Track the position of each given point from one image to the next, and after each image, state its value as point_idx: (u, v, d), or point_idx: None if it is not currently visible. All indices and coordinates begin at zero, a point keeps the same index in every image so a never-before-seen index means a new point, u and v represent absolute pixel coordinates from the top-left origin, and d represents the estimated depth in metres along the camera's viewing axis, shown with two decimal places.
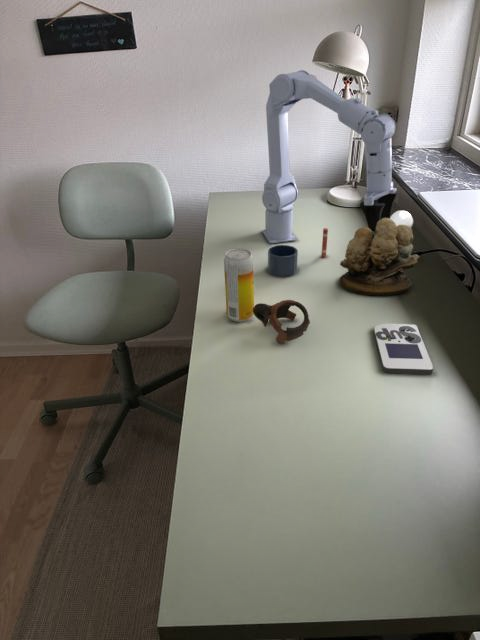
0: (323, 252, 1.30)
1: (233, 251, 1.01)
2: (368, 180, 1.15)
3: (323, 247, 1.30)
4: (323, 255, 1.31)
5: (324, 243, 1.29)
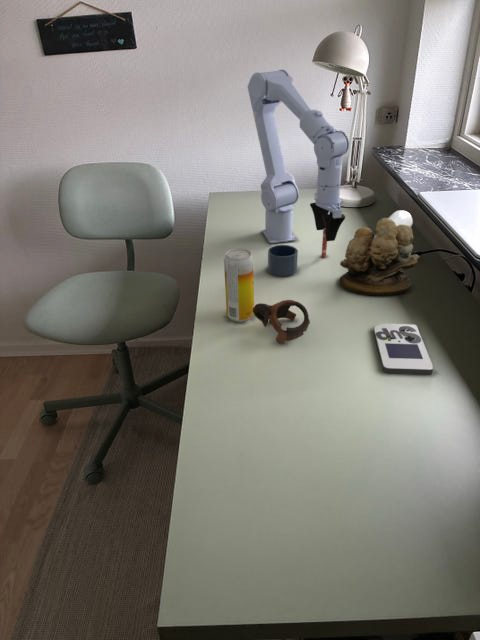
0: (323, 252, 1.30)
1: (233, 251, 1.01)
2: (325, 194, 1.20)
3: (323, 247, 1.30)
4: (323, 255, 1.31)
5: (324, 243, 1.29)
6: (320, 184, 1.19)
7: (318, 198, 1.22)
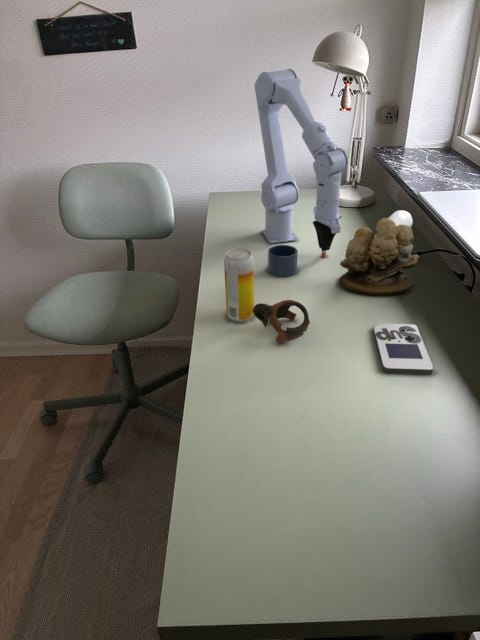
0: (323, 252, 1.30)
1: (233, 251, 1.01)
2: (324, 209, 1.22)
3: None
4: (323, 255, 1.31)
5: None
6: (319, 200, 1.22)
7: (317, 213, 1.24)
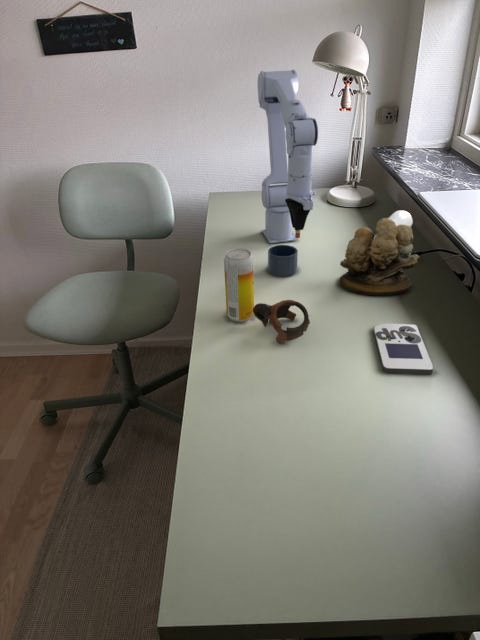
0: (297, 232, 1.22)
1: (233, 251, 1.01)
2: (295, 185, 1.13)
3: None
4: (297, 235, 1.22)
5: None
6: (288, 173, 1.14)
7: (289, 189, 1.15)
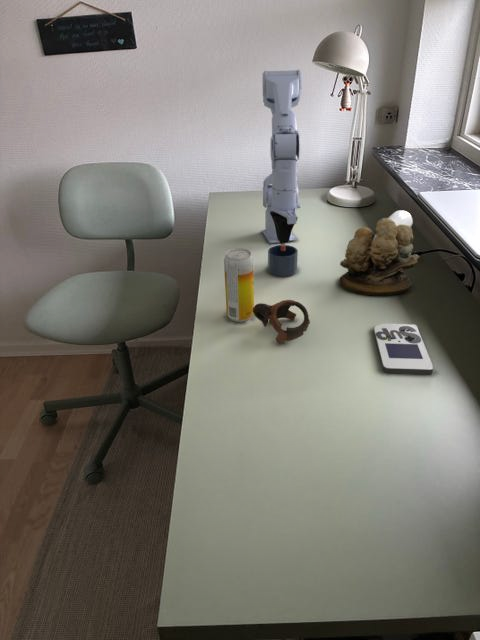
0: (282, 245, 1.21)
1: (233, 251, 1.01)
2: (279, 198, 1.13)
3: None
4: (282, 248, 1.22)
5: None
6: (272, 185, 1.14)
7: (273, 203, 1.15)
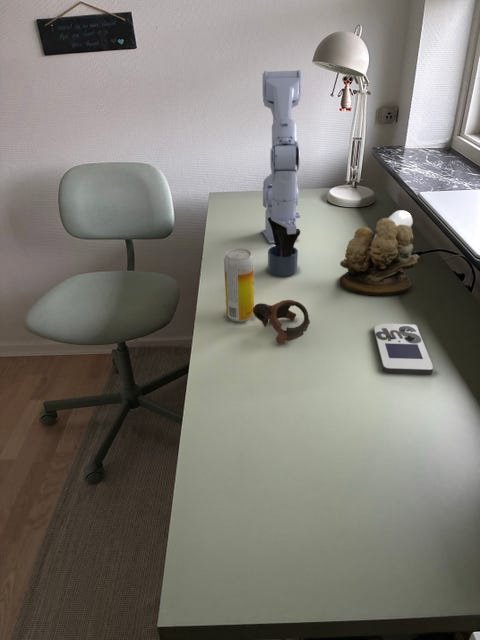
0: None
1: (233, 251, 1.01)
2: (279, 208, 1.14)
3: None
4: None
5: None
6: (272, 196, 1.15)
7: (273, 213, 1.16)
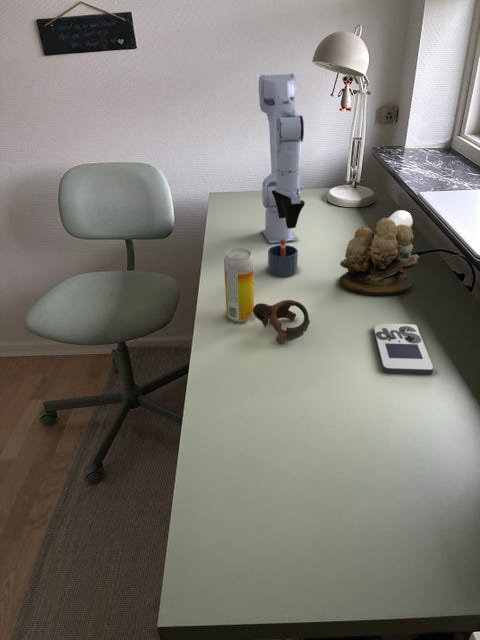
0: None
1: (233, 251, 1.01)
2: (284, 179, 1.17)
3: None
4: None
5: (282, 254, 1.23)
6: (276, 168, 1.18)
7: (277, 184, 1.19)
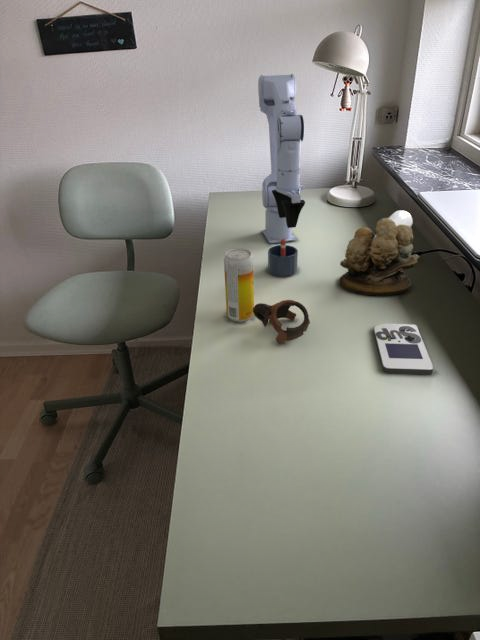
0: None
1: (233, 251, 1.01)
2: (284, 179, 1.17)
3: None
4: None
5: (282, 254, 1.23)
6: (276, 167, 1.19)
7: (278, 183, 1.19)
